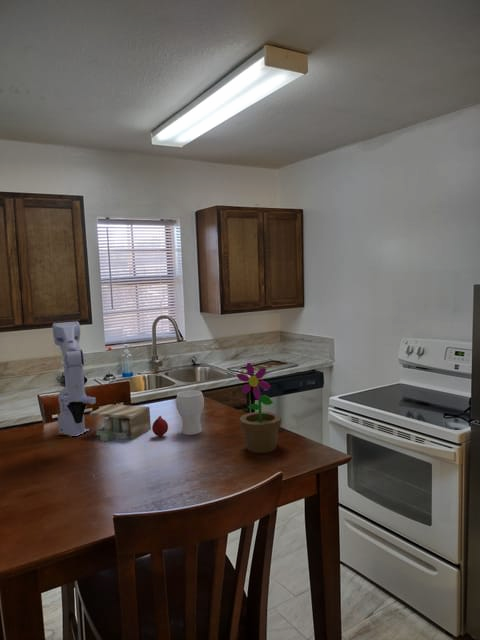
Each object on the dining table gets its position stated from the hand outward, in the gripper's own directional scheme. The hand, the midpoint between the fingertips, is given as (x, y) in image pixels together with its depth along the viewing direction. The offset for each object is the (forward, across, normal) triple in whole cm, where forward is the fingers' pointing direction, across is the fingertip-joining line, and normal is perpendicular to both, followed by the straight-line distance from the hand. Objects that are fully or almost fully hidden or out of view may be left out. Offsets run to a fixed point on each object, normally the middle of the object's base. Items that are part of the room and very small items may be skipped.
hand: (78, 422), depth 161 cm
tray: (+10, +3, +16) cm, 19 cm away
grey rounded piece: (+9, -1, +18) cm, 20 cm away
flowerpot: (+10, +62, +17) cm, 65 cm away
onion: (+10, +22, +18) cm, 30 cm away
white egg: (+9, +7, +18) cm, 21 cm away
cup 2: (+10, +31, +26) cm, 42 cm away
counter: (+10, +4, +19) cm, 22 cm away
